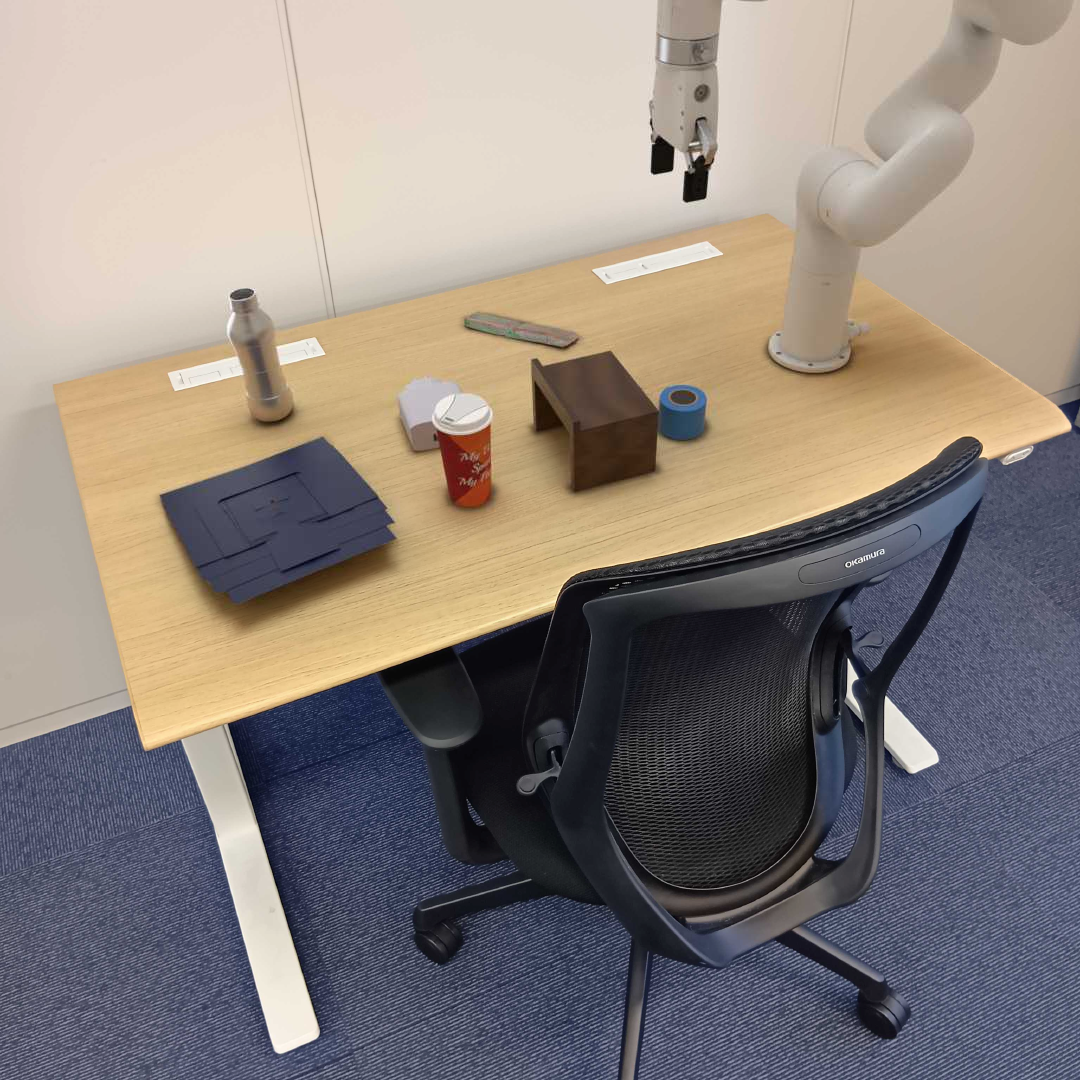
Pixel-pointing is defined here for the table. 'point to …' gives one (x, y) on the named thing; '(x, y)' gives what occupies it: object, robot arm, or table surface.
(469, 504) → the paper cup
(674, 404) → the tape roll
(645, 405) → the desk shelf
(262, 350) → the silver metal bottle
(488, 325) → the map
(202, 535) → the navy flat layered slab
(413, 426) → the charger
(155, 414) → the table surface
